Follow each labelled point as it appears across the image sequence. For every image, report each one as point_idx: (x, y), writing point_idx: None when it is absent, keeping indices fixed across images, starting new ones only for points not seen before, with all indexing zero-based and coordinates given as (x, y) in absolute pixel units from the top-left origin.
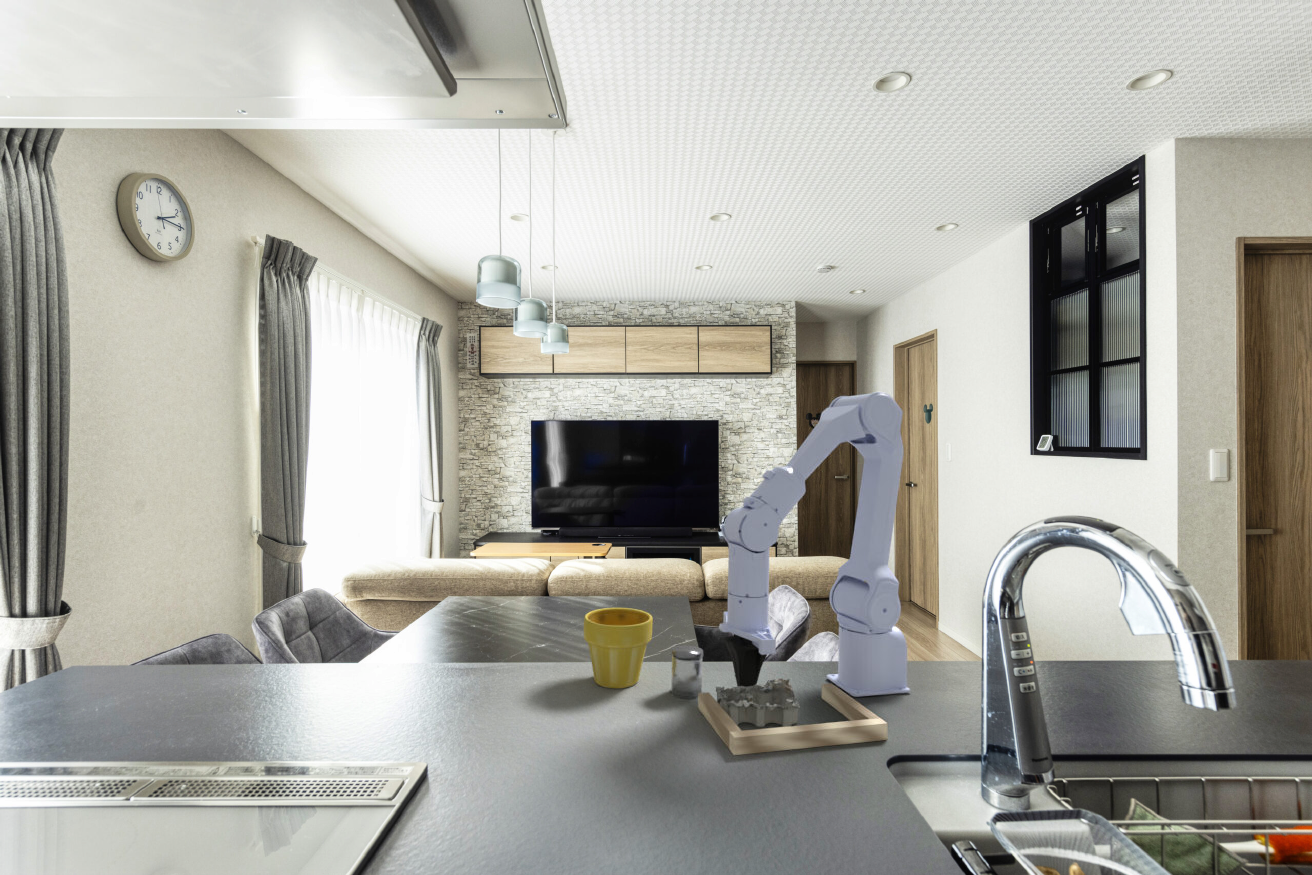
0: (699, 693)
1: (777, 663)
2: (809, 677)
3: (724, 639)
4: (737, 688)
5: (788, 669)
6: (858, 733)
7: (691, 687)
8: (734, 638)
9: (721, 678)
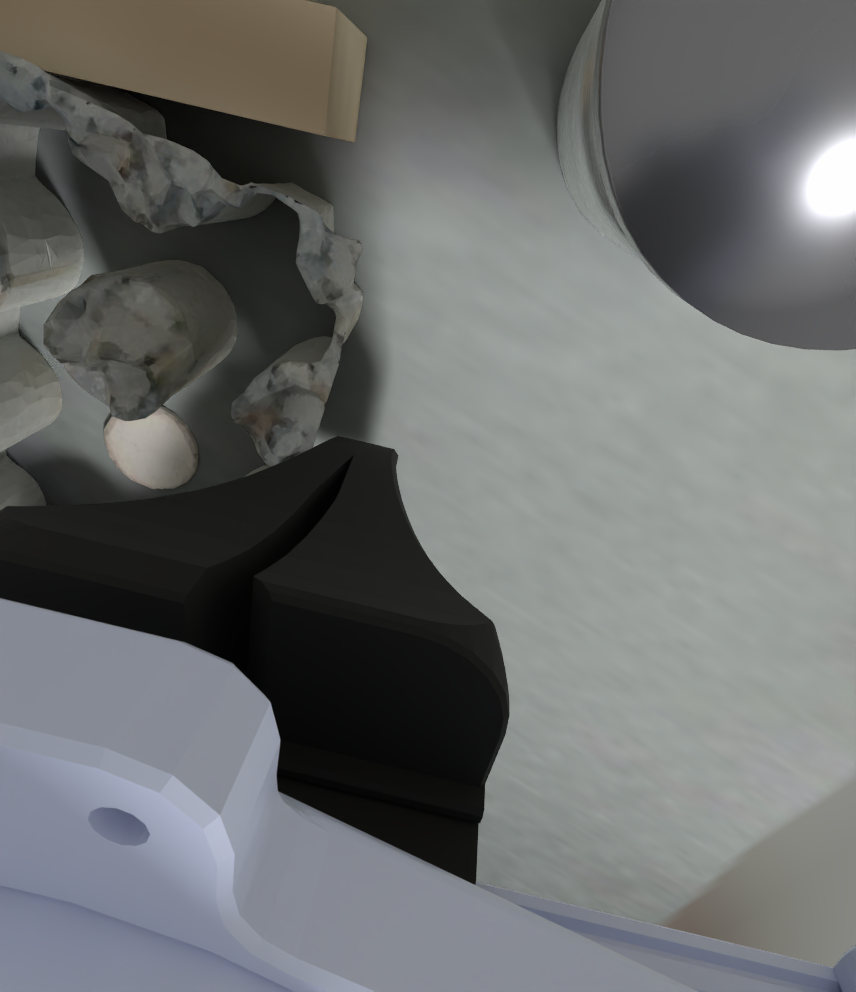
0: (327, 16)
1: (733, 856)
2: (505, 843)
3: (424, 620)
4: (314, 410)
5: (636, 843)
6: None
7: (571, 72)
8: (376, 740)
9: (758, 525)
